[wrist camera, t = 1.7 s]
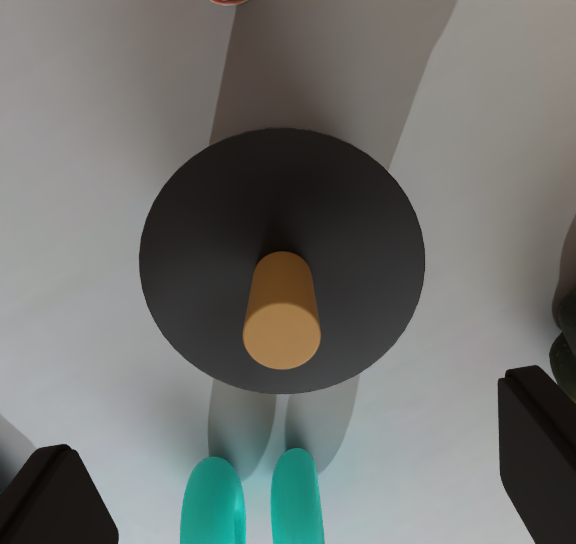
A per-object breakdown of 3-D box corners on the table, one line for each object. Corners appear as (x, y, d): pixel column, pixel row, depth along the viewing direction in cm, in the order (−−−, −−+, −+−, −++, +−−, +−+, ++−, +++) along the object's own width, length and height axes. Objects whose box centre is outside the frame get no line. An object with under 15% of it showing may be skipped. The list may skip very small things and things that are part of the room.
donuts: (321, 503, 39) (333, 627, 30) (217, 513, 39) (196, 639, 30) (310, 419, 35) (319, 532, 26) (194, 432, 35) (162, 547, 26)
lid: (113, 326, 20) (46, 412, 15) (204, 70, 16) (160, 50, 10) (339, 412, 22) (357, 515, 17) (472, 204, 18) (557, 249, 13)
